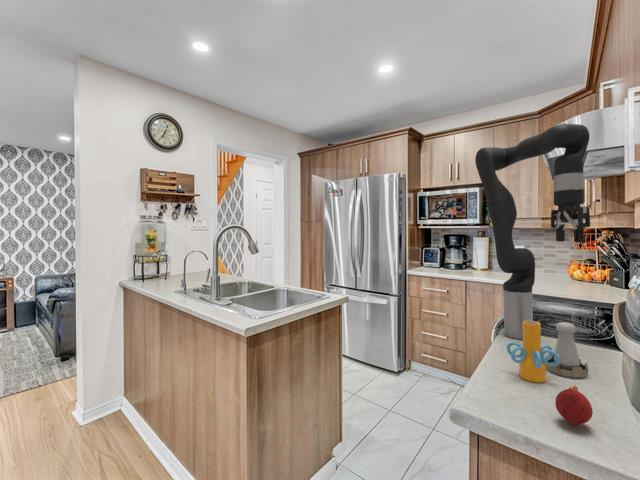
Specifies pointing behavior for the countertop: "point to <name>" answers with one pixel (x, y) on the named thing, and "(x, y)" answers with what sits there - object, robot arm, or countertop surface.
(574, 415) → the red oval fruit
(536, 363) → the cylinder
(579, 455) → the countertop surface
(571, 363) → the salt shaker
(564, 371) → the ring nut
